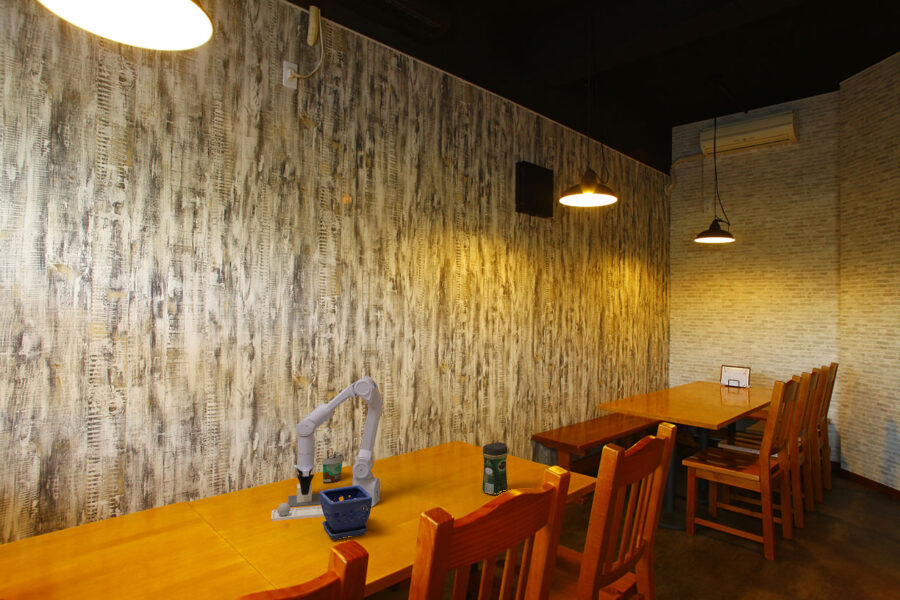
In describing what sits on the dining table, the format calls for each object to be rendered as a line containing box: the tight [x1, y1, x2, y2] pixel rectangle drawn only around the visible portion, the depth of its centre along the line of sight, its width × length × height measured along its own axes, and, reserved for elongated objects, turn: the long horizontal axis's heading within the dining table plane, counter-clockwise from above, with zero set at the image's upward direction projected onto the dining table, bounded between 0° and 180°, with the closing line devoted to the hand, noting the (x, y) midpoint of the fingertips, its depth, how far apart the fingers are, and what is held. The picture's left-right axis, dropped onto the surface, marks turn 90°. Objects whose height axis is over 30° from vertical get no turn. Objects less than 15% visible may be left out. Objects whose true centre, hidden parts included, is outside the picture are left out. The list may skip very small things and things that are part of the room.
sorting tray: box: [270, 505, 324, 522], centre depth 173 cm, size 22×8×1 cm, turn 107°
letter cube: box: [296, 482, 313, 503], centre depth 185 cm, size 5×5×5 cm
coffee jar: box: [481, 441, 508, 495], centre depth 199 cm, size 10×8×19 cm
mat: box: [287, 492, 321, 508], centre depth 185 cm, size 11×11×1 cm
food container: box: [321, 451, 345, 485], centre depth 210 cm, size 12×6×10 cm, turn 168°
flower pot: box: [319, 485, 372, 540], centre depth 159 cm, size 13×13×12 cm
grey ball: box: [277, 502, 291, 516], centre depth 171 cm, size 4×4×4 cm
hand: (304, 491), depth 185 cm, fingers open, 7 cm apart
